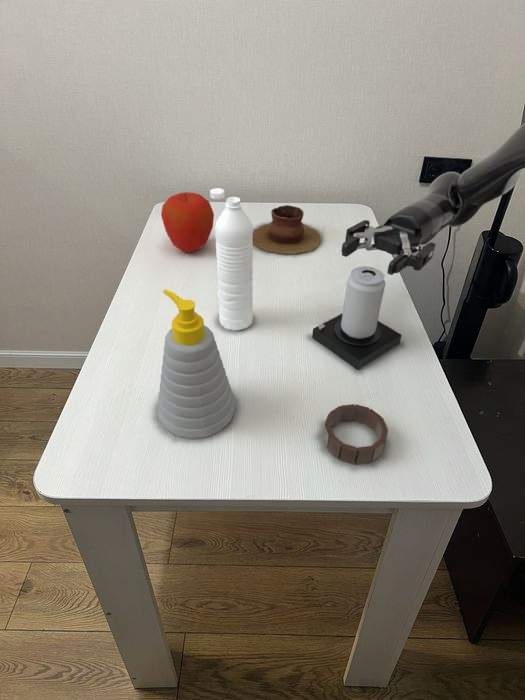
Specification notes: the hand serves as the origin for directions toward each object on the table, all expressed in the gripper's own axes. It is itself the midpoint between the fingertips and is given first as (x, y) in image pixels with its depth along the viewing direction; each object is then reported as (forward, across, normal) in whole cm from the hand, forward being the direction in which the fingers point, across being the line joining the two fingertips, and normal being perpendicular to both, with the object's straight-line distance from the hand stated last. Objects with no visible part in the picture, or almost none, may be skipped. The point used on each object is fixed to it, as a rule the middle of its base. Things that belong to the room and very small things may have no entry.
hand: (366, 260), depth 78 cm
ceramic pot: (-26, -36, +19) cm, 49 cm away
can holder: (+18, +12, +19) cm, 28 cm away
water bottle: (+8, -23, +19) cm, 31 cm away
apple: (-6, -50, +19) cm, 54 cm away
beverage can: (-3, -1, +16) cm, 17 cm away
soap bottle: (+29, -10, +19) cm, 36 cm away
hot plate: (-3, -1, +19) cm, 19 cm away
